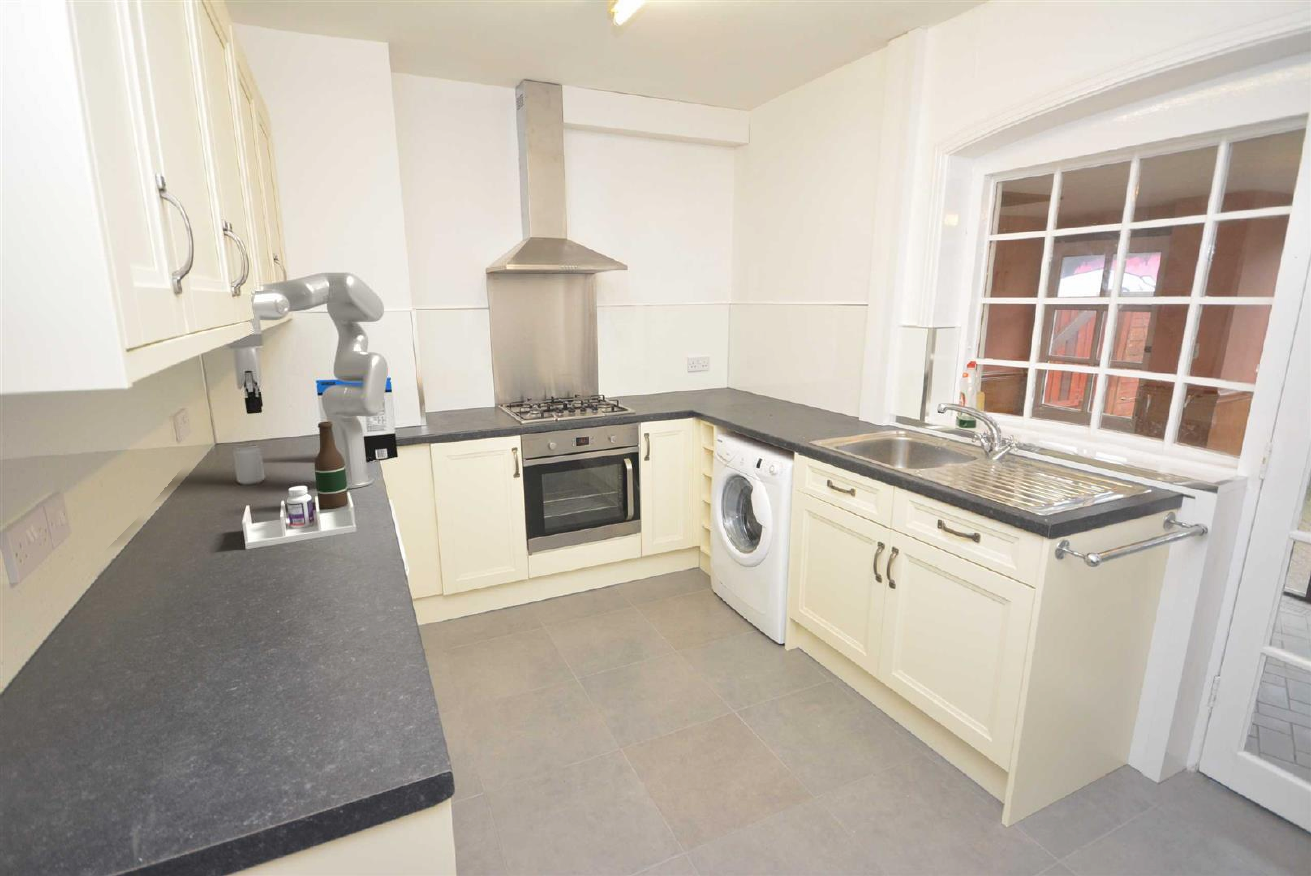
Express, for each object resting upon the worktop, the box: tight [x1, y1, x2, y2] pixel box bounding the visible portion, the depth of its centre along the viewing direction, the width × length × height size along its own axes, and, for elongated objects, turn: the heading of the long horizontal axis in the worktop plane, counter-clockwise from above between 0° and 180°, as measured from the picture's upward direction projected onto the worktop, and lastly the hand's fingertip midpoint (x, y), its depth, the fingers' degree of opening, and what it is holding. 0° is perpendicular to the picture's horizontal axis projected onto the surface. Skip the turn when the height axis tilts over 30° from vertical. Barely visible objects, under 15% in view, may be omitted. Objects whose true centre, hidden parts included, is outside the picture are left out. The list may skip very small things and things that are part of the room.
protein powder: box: [315, 377, 399, 463], centre depth 225 cm, size 10×24×30 cm, turn 111°
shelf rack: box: [241, 491, 357, 550], centre depth 156 cm, size 15×23×6 cm, turn 120°
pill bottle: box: [286, 485, 315, 528], centre depth 155 cm, size 5×5×10 cm
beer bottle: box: [314, 421, 349, 510], centre depth 174 cm, size 8×8×24 cm
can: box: [232, 443, 265, 485], centre depth 199 cm, size 8×8×12 cm
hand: (255, 410), depth 157 cm, fingers open, 9 cm apart
